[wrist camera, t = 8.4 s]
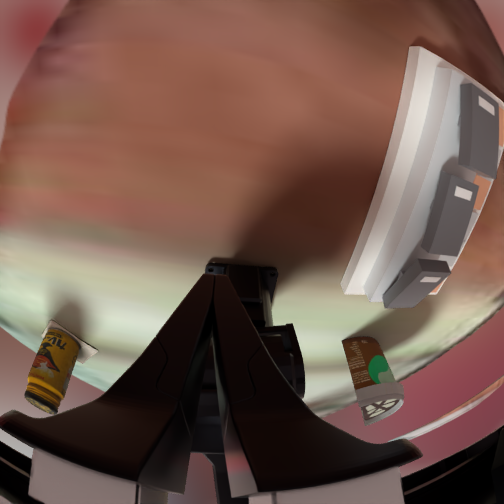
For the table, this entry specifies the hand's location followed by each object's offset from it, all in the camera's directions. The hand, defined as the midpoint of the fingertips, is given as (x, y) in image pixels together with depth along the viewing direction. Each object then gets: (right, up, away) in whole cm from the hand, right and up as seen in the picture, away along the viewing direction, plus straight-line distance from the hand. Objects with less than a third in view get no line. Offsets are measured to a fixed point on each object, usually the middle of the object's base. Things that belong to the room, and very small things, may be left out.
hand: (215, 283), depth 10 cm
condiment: (-27, -12, +23) cm, 37 cm away
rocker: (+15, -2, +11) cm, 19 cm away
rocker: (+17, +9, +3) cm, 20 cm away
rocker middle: (+16, +4, +7) cm, 18 cm away
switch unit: (+18, +7, +11) cm, 22 cm away
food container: (+18, -13, +25) cm, 33 cm away
